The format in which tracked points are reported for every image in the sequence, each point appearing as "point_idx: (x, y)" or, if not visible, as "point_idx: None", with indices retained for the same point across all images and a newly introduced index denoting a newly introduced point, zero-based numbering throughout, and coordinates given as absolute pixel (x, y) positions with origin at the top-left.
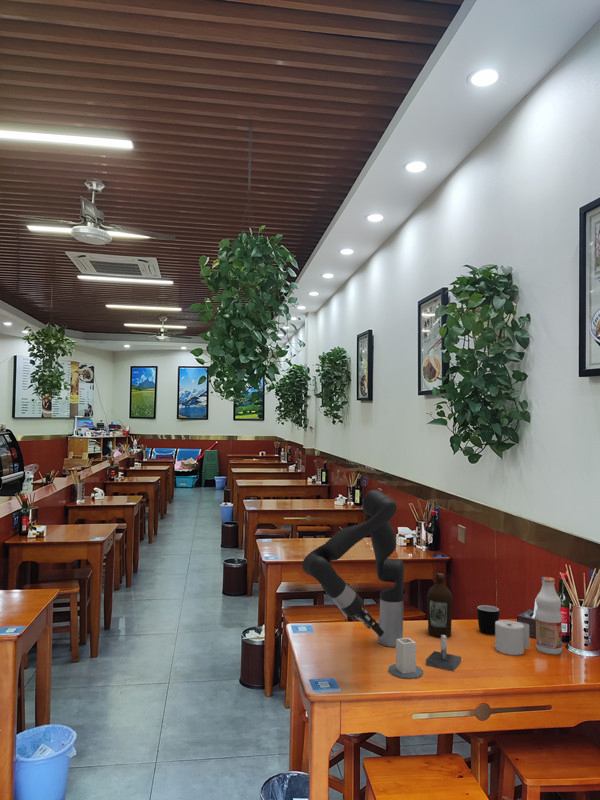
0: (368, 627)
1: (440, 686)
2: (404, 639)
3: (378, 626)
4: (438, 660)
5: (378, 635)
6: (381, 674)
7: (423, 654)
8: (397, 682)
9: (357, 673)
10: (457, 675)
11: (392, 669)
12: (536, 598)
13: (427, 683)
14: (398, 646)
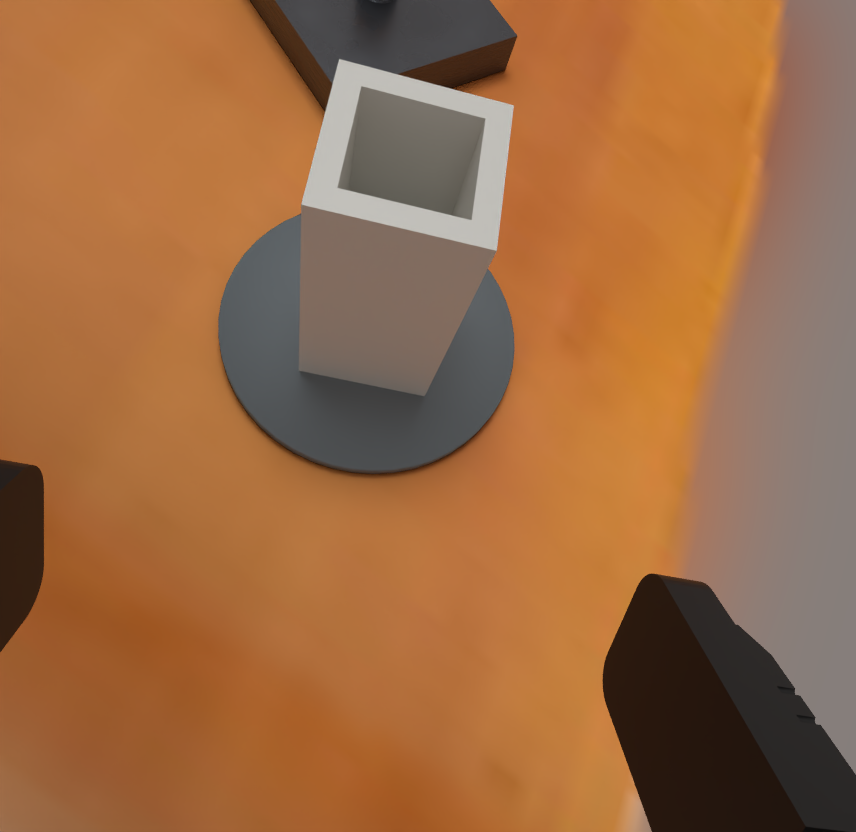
0: (18, 619)
1: (677, 300)
2: (352, 128)
3: (825, 787)
4: (400, 44)
5: (623, 719)
6: (319, 558)
7: (157, 3)
8: (519, 534)
9: (173, 789)
10: (566, 97)
11: (309, 417)
12: None
13: (611, 340)
14: (359, 264)
